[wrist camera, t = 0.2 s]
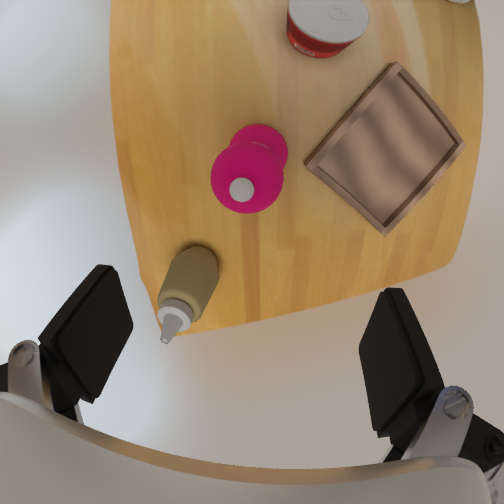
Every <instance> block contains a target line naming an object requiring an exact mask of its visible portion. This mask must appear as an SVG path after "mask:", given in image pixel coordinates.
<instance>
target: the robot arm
mask: <svg viewBox="0 0 504 504" xmlns="http://www.w3.org/2000/svg"><path fill="white" fill-rule="evenodd" d="M448 1H450V2H453V3H457V4H463V3H467V2H469V1H470V0H448ZM132 330H133V321H132V318H131V315H130V312H129V309H128V306H127V302H126V299H125V296H124V293H123V290H122V286H121V283H120V279H119V275H118V272H117V271H116V270H114V268H113V266H110V265H101V264H99V265H97V266H96V267H95V268H94V269H93V270H92V271H91V272H90V273H89V275H88V276H87V277H86V278H85V279H84V280H83V282H82V283H81V284H80V285H79V286H78V287H77V289H76V290H75V291H74V292H73V293H72V295H71V296H70V297H69V298H68V300H67V301H66V302H65V303H64V304H63V306H62V307H61V308H60V309H59V311H58V312H57V313H56V315H55V316H54V317H53V319H52V320H51V321H50V322H49V324H48V325H47V326H46V328H45V329H44V330H43V332H42V333H41V334H40V336H39V337H38V339H39V341H40V343H41V344H40V345H39V346H38V345H37V343H36V342H34V341H32V340H25V341H22V342H20V343H18V344H17V345H16V346H14V348H13V349H12V350H11V352H10V354H9V359H8V363H5V364H3V365H0V504H504V433H503V432H502V431H500V430H499V429H497V428H496V427H494V426H493V425H491V424H489V423H488V422H486V421H485V420H483V419H481V418H480V417H478V416H477V415H475V414H473V409H474V406H473V401H472V398H471V396H470V395H469V394H468V392H467V391H466V390H464V389H463V388H461V387H458V386H449V387H446V388H445V387H444V384H443V380H442V377H441V374H440V372H439V369H438V366H437V364H436V361H435V359H434V356H433V354H432V351H431V349H430V347H429V344H428V342H427V339H426V337H425V335H424V332H423V330H422V328H421V326H420V324H419V321H418V319H417V317H416V315H415V313H414V311H413V309H412V307H411V305H410V303H409V300H408V298H407V296H406V294H405V292H404V291H403V289H402V288H386V289H385V290H384V292H380V294H379V296H378V300H377V302H376V305H375V307H374V310H373V312H372V315H371V317H370V320H369V322H368V325H367V327H366V330H365V332H364V335H363V337H362V339H361V341H360V344H359V355H360V360H361V365H362V370H363V375H364V380H365V386H366V391H367V397H368V403H369V408H370V415H371V421H372V427H373V430H374V431H377V435H378V438H381V437H388V436H390V442H391V445H390V446H389V448H388V449H387V451H386V453H385V454H384V455H383V457H382V459H381V460H380V461H379V463H378V464H371V465H363V466H353V467H341V468H326V469H270V468H255V467H243V466H235V465H227V464H219V463H212V462H207V461H201V460H195V459H191V458H186V457H181V456H177V455H172V454H168V453H164V452H160V451H157V450H153V449H150V448H146V447H143V446H139V445H136V444H133V443H130V442H127V441H124V440H121V439H118V438H115V437H112V436H109V435H107V434H104V433H102V432H99V431H97V430H94V429H92V428H90V427H87V426H85V425H84V423H83V420H82V416H81V412H80V409H79V405H78V401H79V399H80V398H81V399H82V400H84V401H86V402H89V403H91V404H93V402H94V400H95V398H98V397H99V396H100V394H101V392H102V390H103V388H104V386H105V384H106V382H107V380H108V377H109V375H110V373H111V371H112V369H113V367H114V365H115V363H116V361H117V359H118V357H119V355H120V353H121V351H122V349H123V348H124V346H125V344H126V342H127V340H128V338H129V336H130V334H131V332H132Z"/></svg>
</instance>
